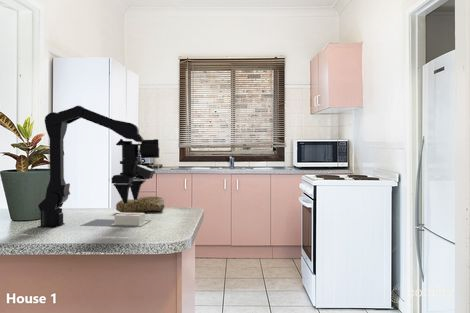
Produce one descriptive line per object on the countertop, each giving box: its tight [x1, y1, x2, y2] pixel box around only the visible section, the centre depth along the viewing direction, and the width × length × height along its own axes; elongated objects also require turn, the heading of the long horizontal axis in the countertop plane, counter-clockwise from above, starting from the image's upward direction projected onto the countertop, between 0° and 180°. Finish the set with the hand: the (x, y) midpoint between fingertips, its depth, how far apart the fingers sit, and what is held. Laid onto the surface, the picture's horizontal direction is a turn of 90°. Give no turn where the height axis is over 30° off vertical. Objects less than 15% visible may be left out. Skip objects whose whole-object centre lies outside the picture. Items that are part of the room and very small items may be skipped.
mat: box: [79, 218, 152, 228], centre depth 139 cm, size 22×12×1 cm, turn 83°
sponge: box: [115, 196, 165, 213], centre depth 165 cm, size 13×8×20 cm
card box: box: [114, 212, 146, 225], centre depth 138 cm, size 6×9×3 cm, turn 83°
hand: (130, 201), depth 138 cm, fingers open, 9 cm apart
